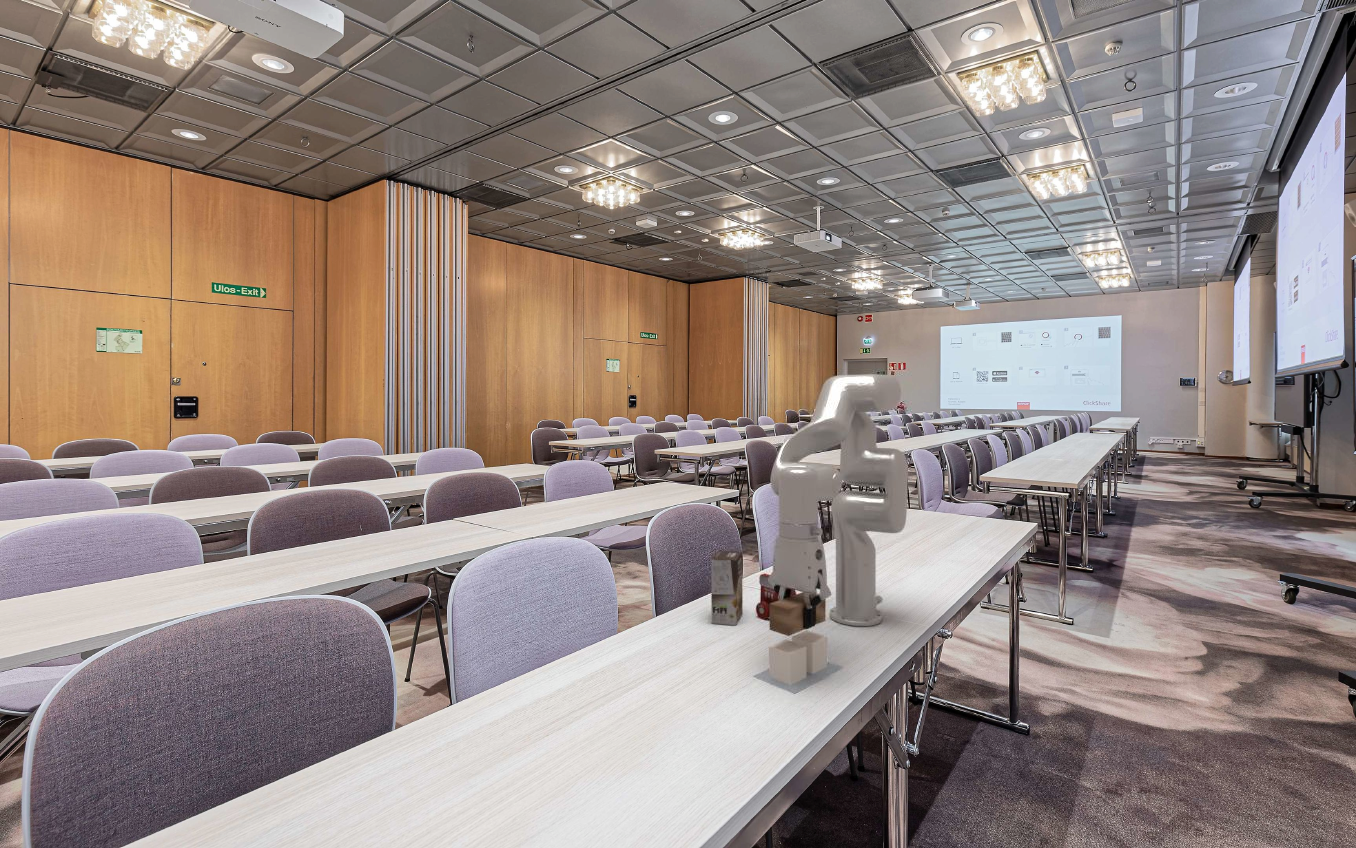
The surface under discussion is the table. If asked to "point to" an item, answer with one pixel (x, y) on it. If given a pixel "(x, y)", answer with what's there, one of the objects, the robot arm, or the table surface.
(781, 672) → the cream pillar
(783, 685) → the slate board
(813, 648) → the cream pillar
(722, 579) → the coffee box
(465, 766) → the table surface
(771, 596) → the toy fire truck
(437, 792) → the table surface
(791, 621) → the walnut beam
